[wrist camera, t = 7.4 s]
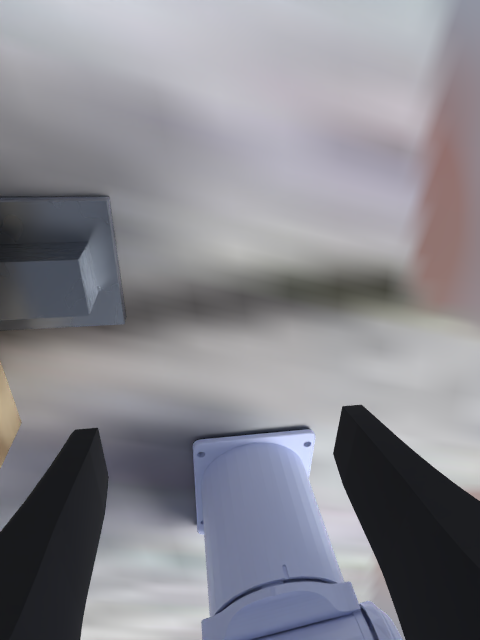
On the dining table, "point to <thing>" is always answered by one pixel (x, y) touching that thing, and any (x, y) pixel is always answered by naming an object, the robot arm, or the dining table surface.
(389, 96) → the dining table surface
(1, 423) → the bar
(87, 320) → the ridge
